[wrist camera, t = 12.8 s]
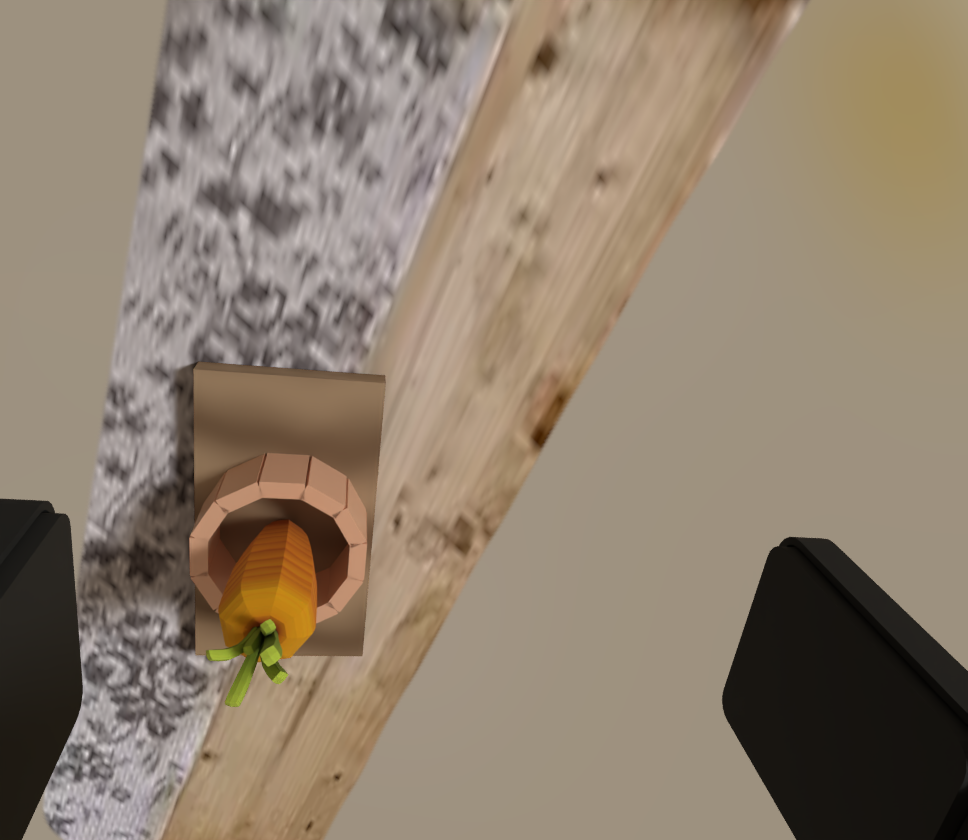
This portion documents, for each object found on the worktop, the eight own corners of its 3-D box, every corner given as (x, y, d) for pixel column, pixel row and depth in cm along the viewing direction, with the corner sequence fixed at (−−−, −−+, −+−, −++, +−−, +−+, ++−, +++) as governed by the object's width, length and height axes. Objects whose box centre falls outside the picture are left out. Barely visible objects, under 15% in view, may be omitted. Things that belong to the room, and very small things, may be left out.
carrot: (272, 570, 49) (236, 743, 35) (229, 510, 47) (174, 669, 33) (340, 536, 49) (331, 696, 35) (300, 475, 47) (274, 618, 33)
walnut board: (198, 361, 45) (193, 369, 43) (384, 375, 47) (385, 383, 45) (199, 640, 52) (195, 655, 50) (362, 642, 54) (362, 656, 52)
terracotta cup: (202, 449, 45) (188, 478, 42) (370, 458, 47) (371, 486, 43) (203, 591, 49) (190, 629, 45) (359, 594, 51) (359, 631, 47)
